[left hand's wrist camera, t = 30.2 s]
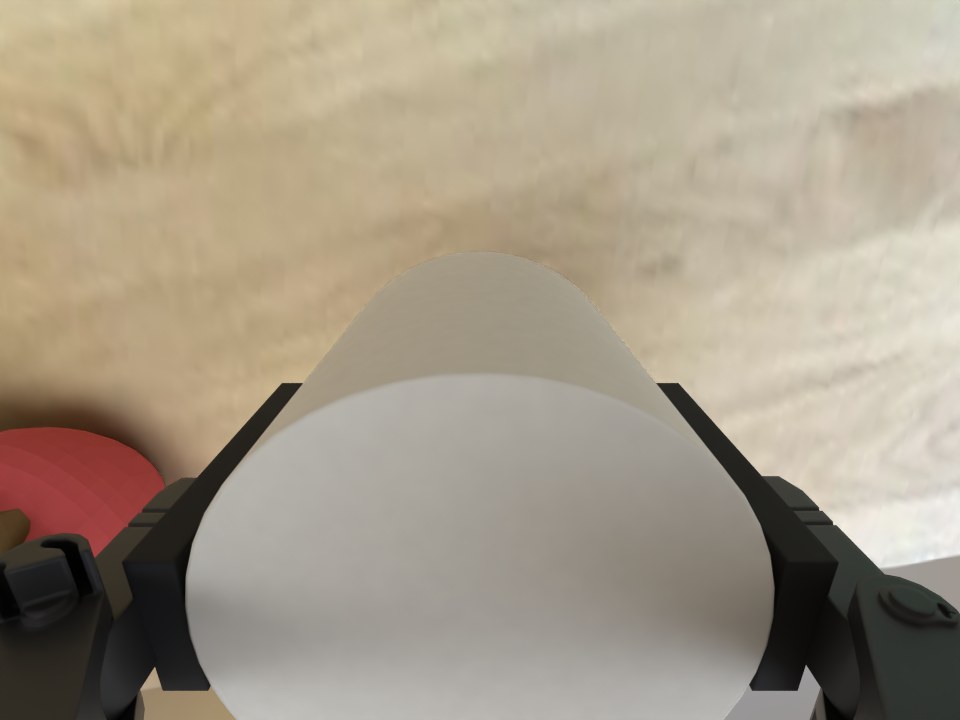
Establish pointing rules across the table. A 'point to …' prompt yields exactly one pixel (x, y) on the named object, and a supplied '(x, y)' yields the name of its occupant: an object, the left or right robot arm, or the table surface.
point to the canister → (479, 525)
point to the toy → (70, 485)
